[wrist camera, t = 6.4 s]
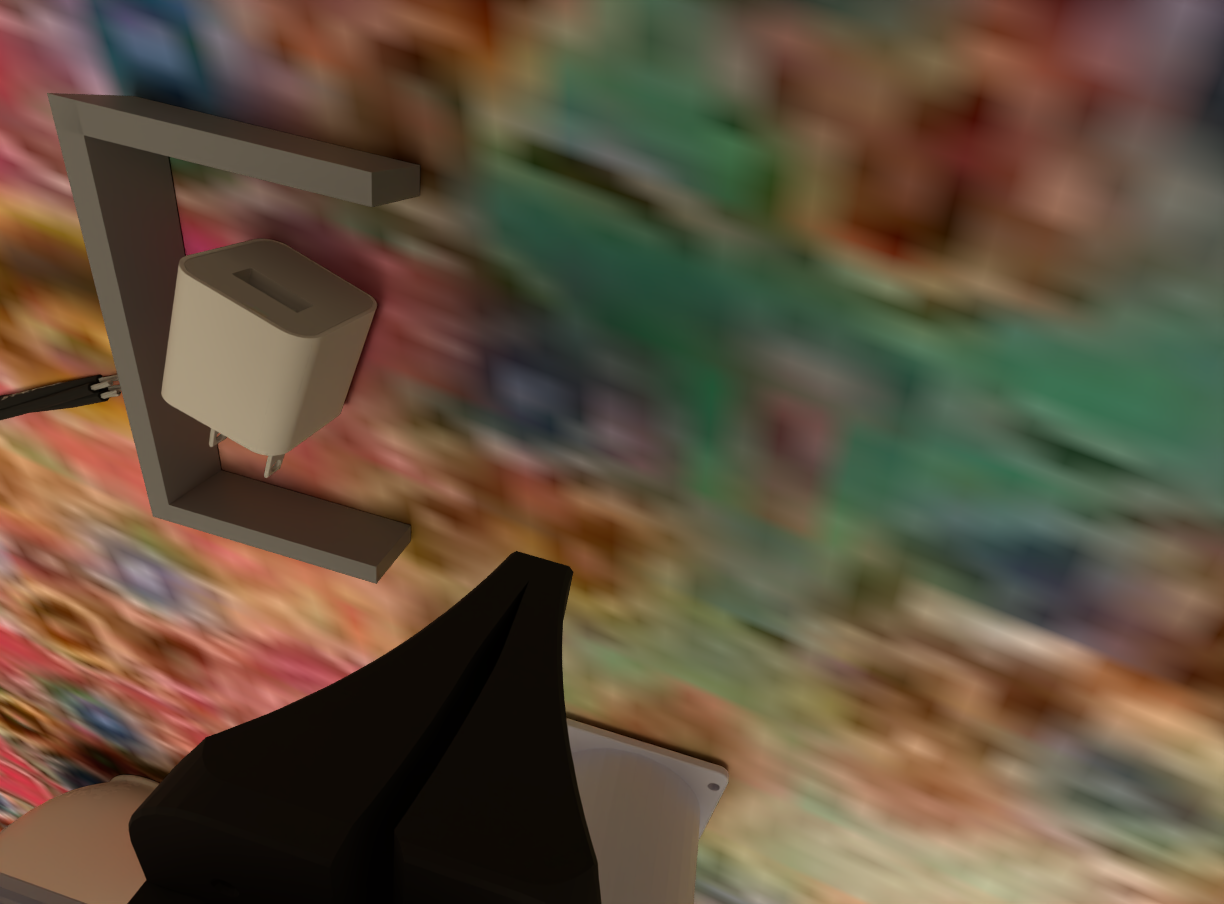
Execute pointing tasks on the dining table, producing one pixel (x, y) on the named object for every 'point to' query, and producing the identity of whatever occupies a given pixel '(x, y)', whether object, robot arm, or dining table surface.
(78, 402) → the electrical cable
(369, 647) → the dining table surface
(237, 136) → the charging bay
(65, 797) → the lidded bowl
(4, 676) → the dining table surface
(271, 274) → the usb wall charger
